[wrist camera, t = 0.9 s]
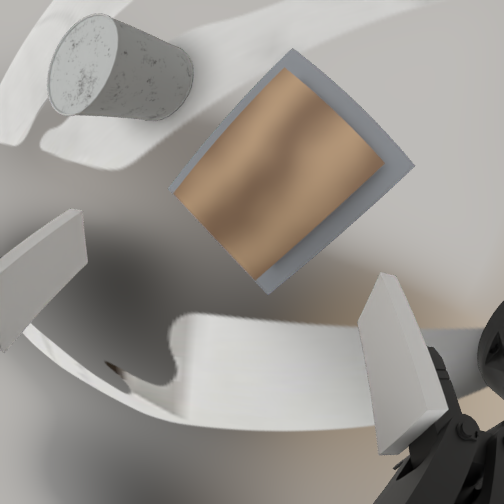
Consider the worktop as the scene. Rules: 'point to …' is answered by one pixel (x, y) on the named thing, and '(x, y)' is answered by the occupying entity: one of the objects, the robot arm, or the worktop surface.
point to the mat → (356, 202)
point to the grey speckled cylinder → (117, 72)
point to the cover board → (276, 173)
